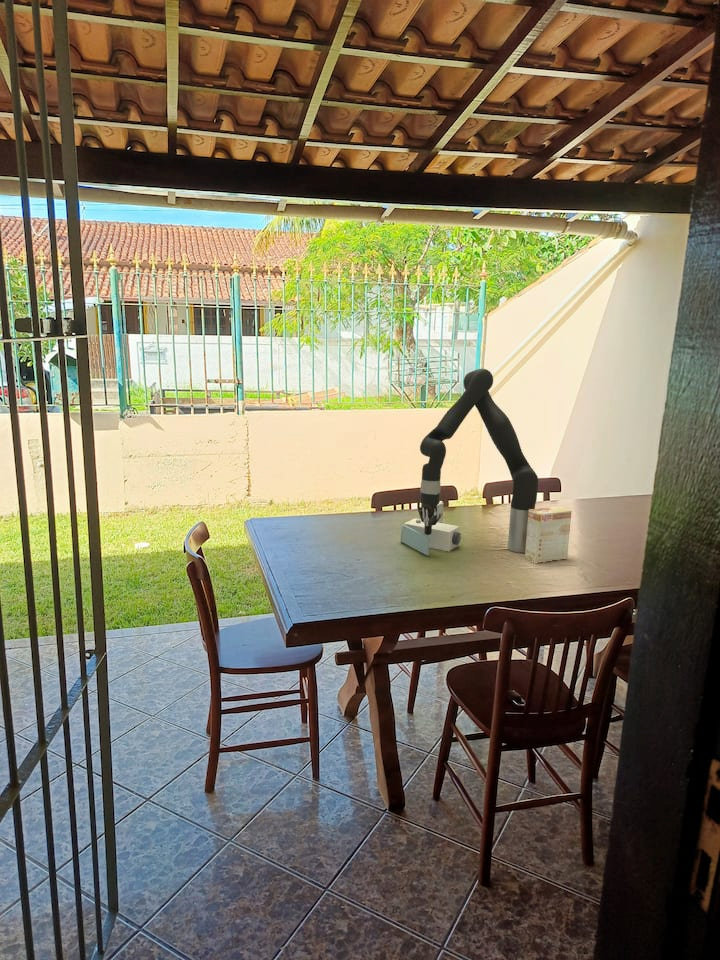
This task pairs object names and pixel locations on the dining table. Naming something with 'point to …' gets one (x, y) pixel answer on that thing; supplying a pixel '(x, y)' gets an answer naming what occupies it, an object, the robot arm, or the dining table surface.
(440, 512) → the supplement box
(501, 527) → the dining table surface
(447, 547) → the camera housing
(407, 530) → the door
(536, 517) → the coffeecake box
